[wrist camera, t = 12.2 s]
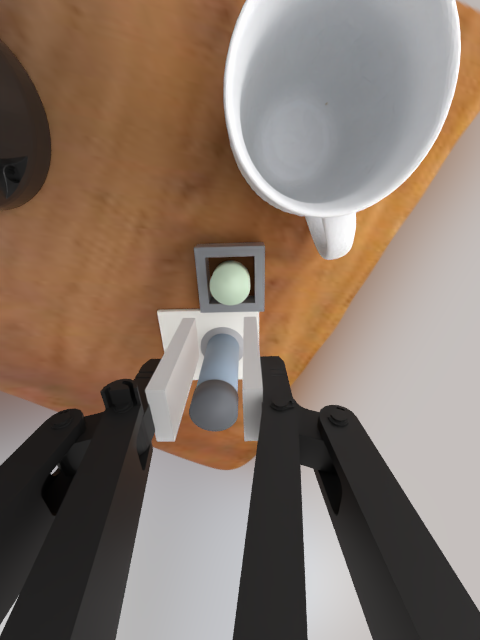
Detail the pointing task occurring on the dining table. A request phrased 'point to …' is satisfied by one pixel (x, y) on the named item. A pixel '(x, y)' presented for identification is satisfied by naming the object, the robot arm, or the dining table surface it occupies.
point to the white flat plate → (206, 329)
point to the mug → (337, 102)
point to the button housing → (230, 250)
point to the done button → (230, 283)
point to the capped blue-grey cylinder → (217, 385)
